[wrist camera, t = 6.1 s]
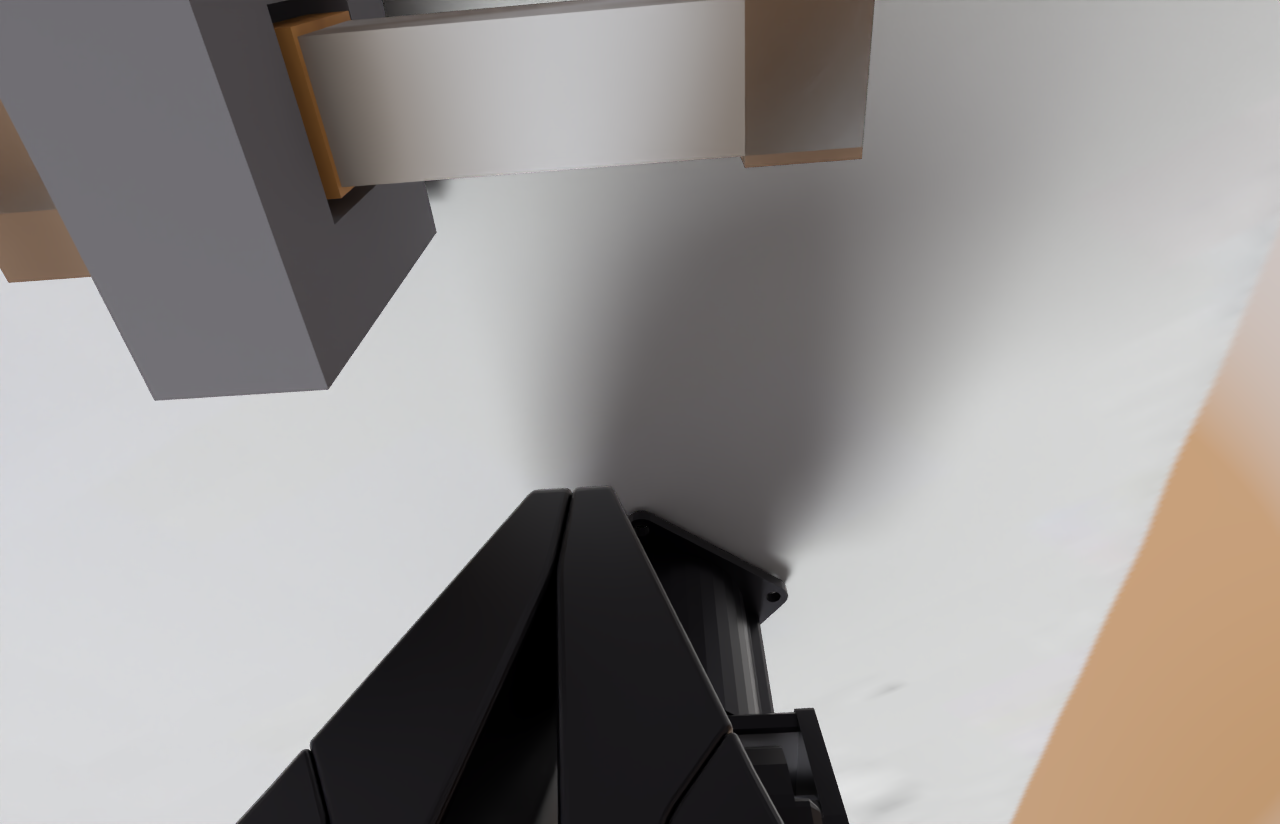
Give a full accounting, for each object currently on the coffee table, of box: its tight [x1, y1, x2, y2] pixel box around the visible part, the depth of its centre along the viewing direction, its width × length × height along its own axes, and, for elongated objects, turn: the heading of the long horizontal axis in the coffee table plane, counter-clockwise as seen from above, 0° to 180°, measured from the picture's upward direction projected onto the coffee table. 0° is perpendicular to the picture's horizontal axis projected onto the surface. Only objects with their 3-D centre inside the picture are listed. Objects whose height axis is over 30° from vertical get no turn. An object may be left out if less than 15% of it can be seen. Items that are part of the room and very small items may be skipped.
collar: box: [0, 0, 436, 401], centre depth 14 cm, size 3×8×8 cm, turn 4°
